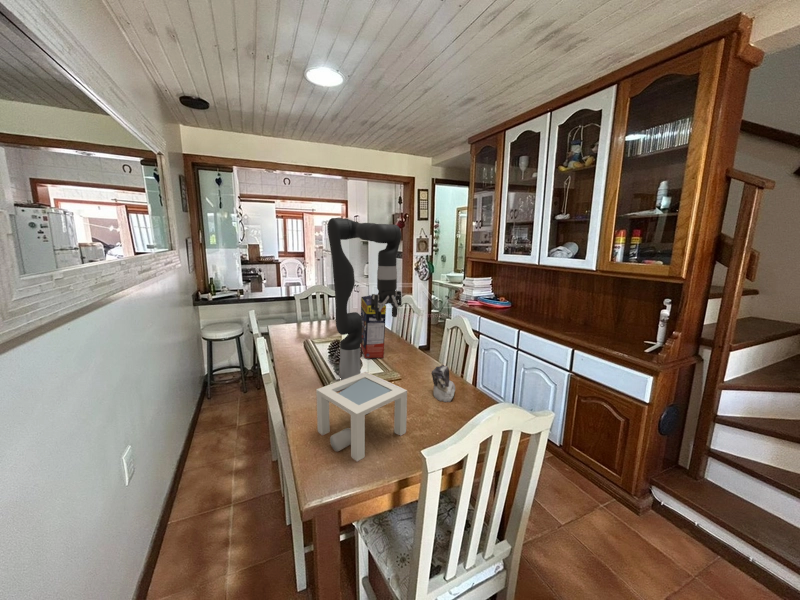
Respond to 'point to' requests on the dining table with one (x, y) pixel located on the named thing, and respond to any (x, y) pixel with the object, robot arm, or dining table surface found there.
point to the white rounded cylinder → (341, 439)
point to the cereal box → (372, 330)
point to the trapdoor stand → (360, 409)
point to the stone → (442, 384)
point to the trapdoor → (363, 391)
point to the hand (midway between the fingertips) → (386, 318)
